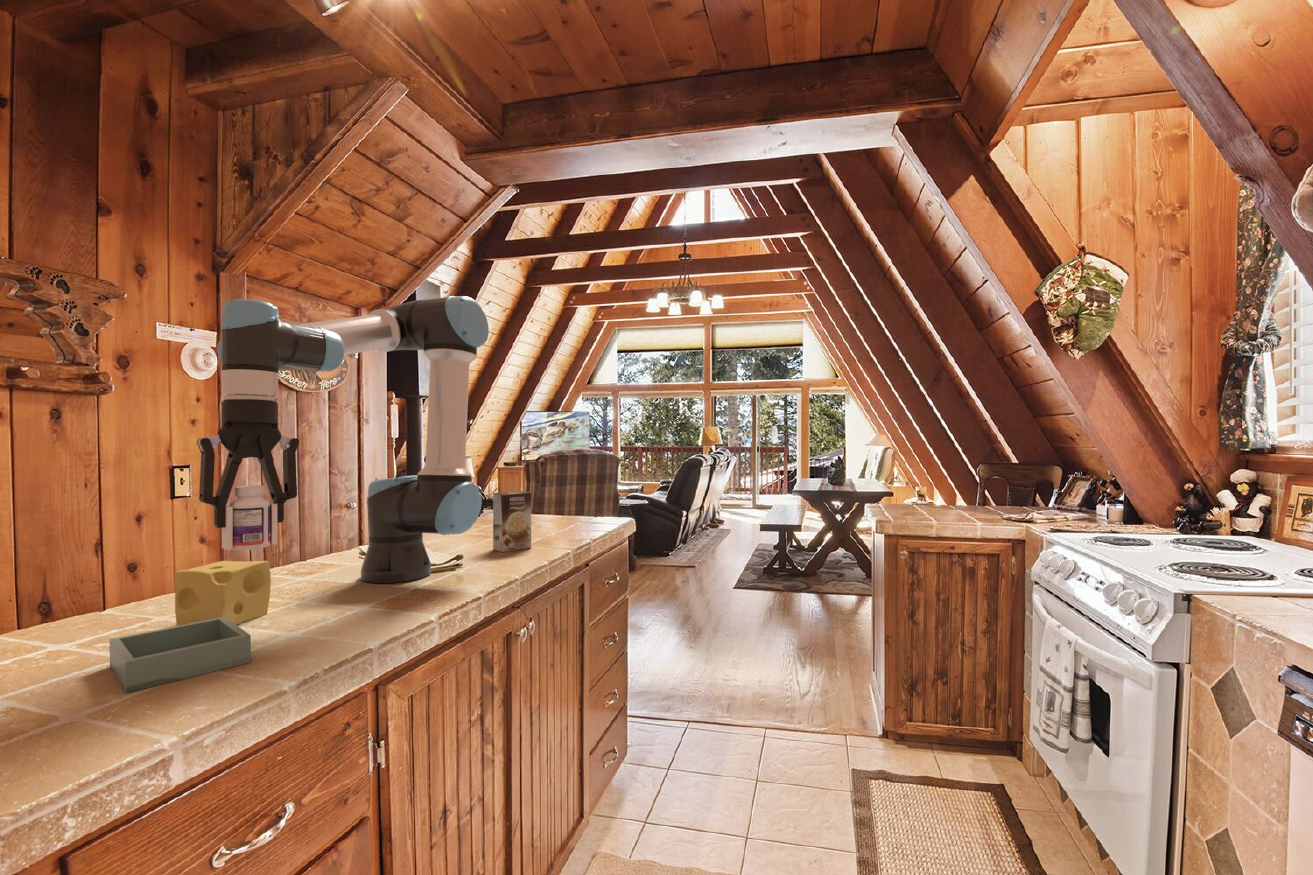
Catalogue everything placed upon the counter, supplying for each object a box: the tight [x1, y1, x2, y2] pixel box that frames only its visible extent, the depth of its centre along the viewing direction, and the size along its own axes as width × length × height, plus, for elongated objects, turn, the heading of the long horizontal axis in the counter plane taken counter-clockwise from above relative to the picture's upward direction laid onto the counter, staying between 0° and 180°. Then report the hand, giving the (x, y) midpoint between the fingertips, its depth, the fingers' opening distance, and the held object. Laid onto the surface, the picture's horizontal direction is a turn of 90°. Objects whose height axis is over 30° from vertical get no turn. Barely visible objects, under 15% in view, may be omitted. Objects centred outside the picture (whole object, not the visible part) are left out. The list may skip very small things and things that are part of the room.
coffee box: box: [492, 491, 532, 553], centre depth 176 cm, size 9×6×16 cm
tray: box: [108, 617, 252, 694], centre depth 90 cm, size 14×14×4 cm
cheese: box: [174, 560, 272, 626], centre depth 111 cm, size 10×11×10 cm
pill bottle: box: [229, 485, 271, 551], centre depth 97 cm, size 5×5×10 cm
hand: (249, 545), depth 97 cm, fingers closed on pill bottle, 5 cm apart
